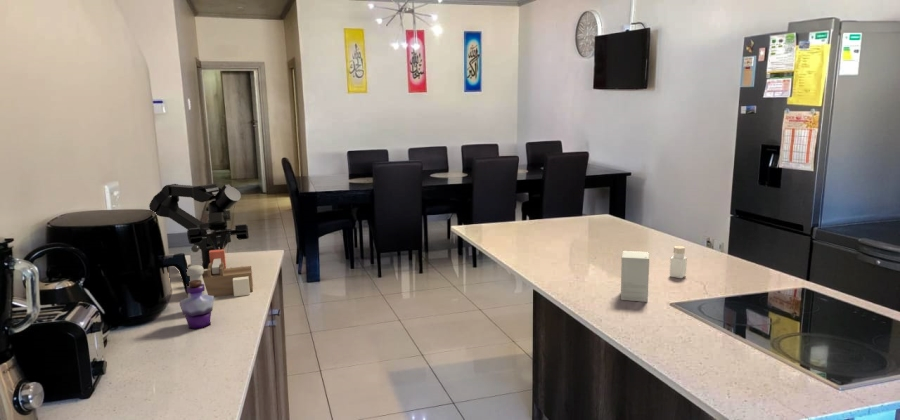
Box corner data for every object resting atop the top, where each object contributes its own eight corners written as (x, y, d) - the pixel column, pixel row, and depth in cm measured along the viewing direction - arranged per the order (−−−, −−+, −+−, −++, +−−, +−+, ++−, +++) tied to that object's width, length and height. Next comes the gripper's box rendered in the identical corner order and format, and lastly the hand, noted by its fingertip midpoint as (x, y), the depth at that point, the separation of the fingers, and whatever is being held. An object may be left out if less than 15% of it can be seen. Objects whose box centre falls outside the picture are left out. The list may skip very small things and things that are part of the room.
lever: (192, 278, 171) (189, 245, 173) (203, 277, 172) (201, 244, 174) (191, 277, 169) (188, 244, 170) (202, 276, 170) (200, 243, 171)
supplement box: (647, 294, 167) (649, 251, 164) (647, 302, 160) (649, 258, 157) (621, 291, 169) (622, 249, 167) (619, 300, 162) (621, 256, 160)
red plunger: (211, 268, 185) (209, 250, 184) (226, 267, 187) (224, 249, 185) (208, 280, 173) (206, 261, 172) (224, 278, 174) (222, 259, 173)
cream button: (234, 293, 174) (232, 278, 173) (249, 292, 175) (248, 276, 174) (234, 296, 172) (232, 280, 171) (249, 294, 173) (248, 278, 172)
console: (191, 291, 178) (188, 265, 176) (252, 284, 183) (250, 259, 182) (188, 299, 170) (185, 272, 169) (252, 291, 176) (250, 265, 174)
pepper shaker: (686, 276, 182) (688, 246, 180) (681, 279, 179) (683, 249, 177) (673, 273, 185) (675, 244, 183) (668, 276, 182) (670, 247, 180)
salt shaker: (202, 315, 157) (197, 269, 154) (183, 314, 158) (178, 269, 156) (214, 308, 163) (210, 263, 160) (196, 307, 164) (191, 262, 161)
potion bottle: (191, 319, 155) (186, 276, 152) (223, 318, 154) (218, 275, 152) (175, 332, 146) (169, 286, 144) (208, 331, 146) (203, 286, 144)
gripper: (184, 204, 188) (185, 245, 179) (245, 200, 194) (248, 239, 186) (189, 223, 196) (189, 263, 188) (247, 218, 202) (250, 257, 194)
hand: (219, 255), depth 189 cm, fingers closed
